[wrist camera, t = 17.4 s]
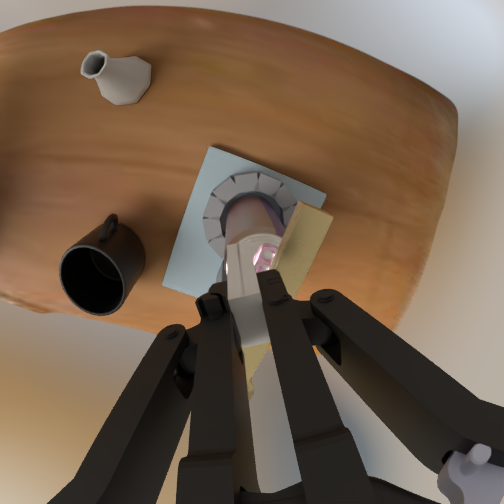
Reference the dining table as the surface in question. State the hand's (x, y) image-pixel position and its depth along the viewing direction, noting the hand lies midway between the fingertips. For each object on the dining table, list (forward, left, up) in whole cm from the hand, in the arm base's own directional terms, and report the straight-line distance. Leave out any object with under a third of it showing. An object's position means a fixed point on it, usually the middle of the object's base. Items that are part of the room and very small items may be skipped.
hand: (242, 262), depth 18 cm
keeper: (+2, -3, +2) cm, 4 cm away
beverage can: (+2, -1, -18) cm, 19 cm away
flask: (-20, +10, -20) cm, 30 cm away
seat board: (+2, -5, -19) cm, 20 cm away
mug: (-14, -12, -20) cm, 26 cm away
